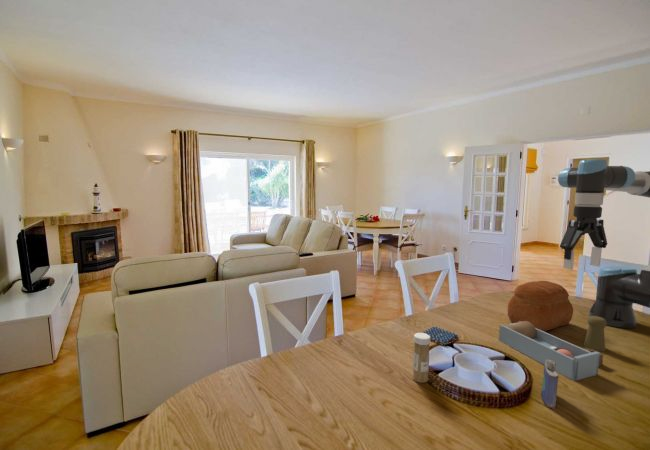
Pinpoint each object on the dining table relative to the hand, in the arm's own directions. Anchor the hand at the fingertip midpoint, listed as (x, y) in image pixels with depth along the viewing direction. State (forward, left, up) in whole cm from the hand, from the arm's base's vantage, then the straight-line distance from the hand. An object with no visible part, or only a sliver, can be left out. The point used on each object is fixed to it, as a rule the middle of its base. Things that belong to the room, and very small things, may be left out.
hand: (581, 267), depth 115 cm
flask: (+37, +18, -29) cm, 50 cm away
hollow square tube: (+6, +10, -29) cm, 31 cm away
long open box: (+17, +2, -29) cm, 33 cm away
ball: (+17, +8, -26) cm, 32 cm away
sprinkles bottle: (+64, -1, -29) cm, 70 cm away
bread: (-7, -19, -29) cm, 35 cm away
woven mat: (+41, -21, -29) cm, 55 cm away
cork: (-6, +3, -29) cm, 30 cm away
